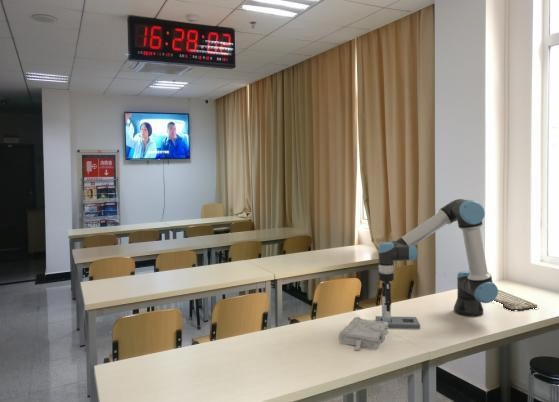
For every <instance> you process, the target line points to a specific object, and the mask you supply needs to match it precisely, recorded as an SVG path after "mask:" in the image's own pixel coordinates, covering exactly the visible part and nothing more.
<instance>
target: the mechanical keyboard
mask: <svg viewBox="0 0 559 402" xmlns="http://www.w3.org/2000/svg"><path fill="white" fill-rule="evenodd" d="M494 301H496V302H499V303H501V304H503V307H505V308H506V309H505V308H504V309H505V310H507V309H508V310H507V311H509V310H511V311H513V312H515V311H514V310H518V311H517V312H525V311H524V310H526V311H530V310H529V309H533V308H534V309H535V308H537V307H538V308H539V306H538V304H537V303H534V302H532V301H529V300H527V299H524V298H523V297H522V298H521V297H518V296H516V295H513V294H510V293H508V292H505V291H504V290H500V289H498V294H497V297H496V298H495V299H494ZM535 310H536V309H535ZM511 311H510V312H511Z"/></svg>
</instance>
